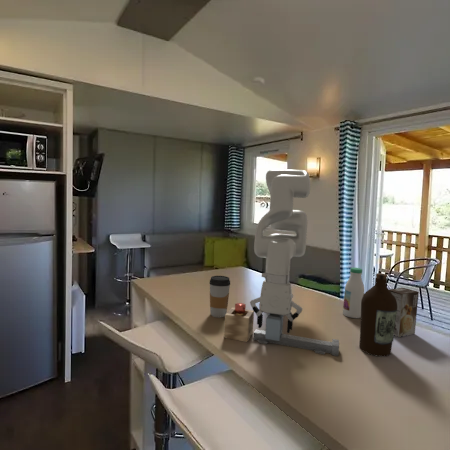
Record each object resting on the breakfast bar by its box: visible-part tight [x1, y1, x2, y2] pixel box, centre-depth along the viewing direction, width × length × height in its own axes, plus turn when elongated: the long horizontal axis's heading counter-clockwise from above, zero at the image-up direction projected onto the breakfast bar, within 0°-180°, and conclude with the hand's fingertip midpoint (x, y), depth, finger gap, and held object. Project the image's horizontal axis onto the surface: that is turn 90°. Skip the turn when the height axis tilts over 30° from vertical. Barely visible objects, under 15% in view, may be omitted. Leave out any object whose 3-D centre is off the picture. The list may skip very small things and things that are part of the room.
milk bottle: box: [342, 267, 365, 319], centre depth 142 cm, size 8×8×20 cm
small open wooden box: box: [223, 307, 255, 343], centre depth 117 cm, size 8×8×8 cm
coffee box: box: [388, 287, 419, 338], centre depth 126 cm, size 9×6×16 cm
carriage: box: [265, 313, 284, 341], centre depth 113 cm, size 4×7×8 cm, turn 162°
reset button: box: [234, 302, 247, 316], centre depth 117 cm, size 4×4×5 cm
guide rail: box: [252, 328, 340, 357], centre depth 112 cm, size 27×6×3 cm, turn 72°
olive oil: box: [359, 272, 397, 357], centre depth 110 cm, size 11×11×25 cm
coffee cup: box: [209, 275, 231, 318], centre depth 136 cm, size 8×8×15 cm
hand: (274, 329), depth 113 cm, fingers open, 9 cm apart
